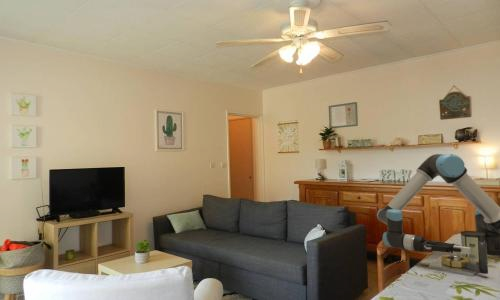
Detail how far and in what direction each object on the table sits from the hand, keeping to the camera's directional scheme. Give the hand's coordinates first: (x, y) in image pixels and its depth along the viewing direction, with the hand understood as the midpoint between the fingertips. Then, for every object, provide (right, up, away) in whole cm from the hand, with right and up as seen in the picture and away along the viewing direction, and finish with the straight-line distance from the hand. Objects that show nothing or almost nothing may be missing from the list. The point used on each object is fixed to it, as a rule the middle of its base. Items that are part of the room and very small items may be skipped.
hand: (470, 251), depth 152 cm
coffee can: (+13, -10, +18) cm, 25 cm away
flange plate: (0, -10, +9) cm, 14 cm away
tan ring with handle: (+1, -9, +5) cm, 10 cm away
